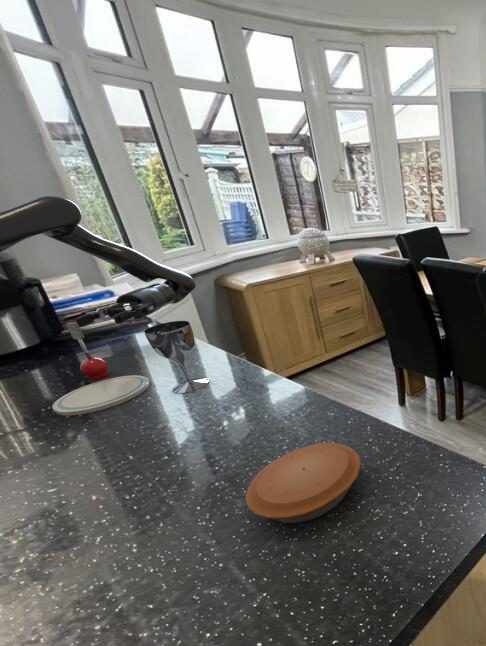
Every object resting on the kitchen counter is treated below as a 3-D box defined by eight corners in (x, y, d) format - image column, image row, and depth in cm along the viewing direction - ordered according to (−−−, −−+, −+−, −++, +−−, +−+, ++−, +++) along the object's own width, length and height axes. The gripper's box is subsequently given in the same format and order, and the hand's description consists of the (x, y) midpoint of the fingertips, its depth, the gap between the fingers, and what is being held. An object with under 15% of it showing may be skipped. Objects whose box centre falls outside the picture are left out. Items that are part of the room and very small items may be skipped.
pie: (226, 531, 54) (214, 504, 52) (297, 457, 68) (289, 433, 66) (329, 542, 52) (321, 515, 50) (380, 463, 66) (375, 439, 64)
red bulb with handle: (101, 379, 98) (73, 325, 92) (80, 381, 97) (50, 327, 91) (116, 371, 102) (90, 318, 96) (96, 372, 101) (68, 320, 95)
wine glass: (218, 381, 95) (196, 324, 89) (179, 397, 88) (153, 336, 82) (202, 374, 98) (180, 318, 92) (164, 389, 92) (137, 330, 86)
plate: (39, 424, 80) (36, 419, 80) (72, 389, 93) (70, 385, 93) (139, 402, 87) (137, 397, 87) (157, 372, 100) (155, 369, 100)
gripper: (109, 291, 113) (58, 309, 98) (163, 288, 115) (122, 305, 100) (120, 316, 116) (73, 337, 101) (173, 312, 118) (134, 332, 103)
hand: (97, 321), depth 100 cm, fingers open, 8 cm apart
